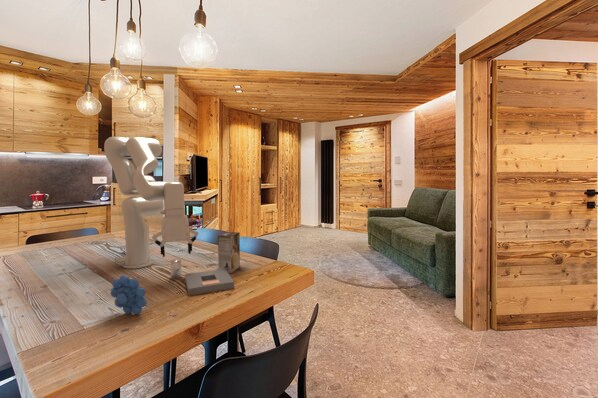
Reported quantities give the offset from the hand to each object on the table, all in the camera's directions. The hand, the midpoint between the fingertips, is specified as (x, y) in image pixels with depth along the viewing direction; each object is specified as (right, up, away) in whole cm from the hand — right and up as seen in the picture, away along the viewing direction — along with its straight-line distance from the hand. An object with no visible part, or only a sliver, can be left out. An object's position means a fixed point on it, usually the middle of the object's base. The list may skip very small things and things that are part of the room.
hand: (176, 254), depth 117 cm
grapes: (-2, -13, -30) cm, 33 cm away
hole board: (+15, -10, -6) cm, 19 cm away
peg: (-1, -10, +1) cm, 10 cm away
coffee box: (+19, -9, +12) cm, 24 cm away
